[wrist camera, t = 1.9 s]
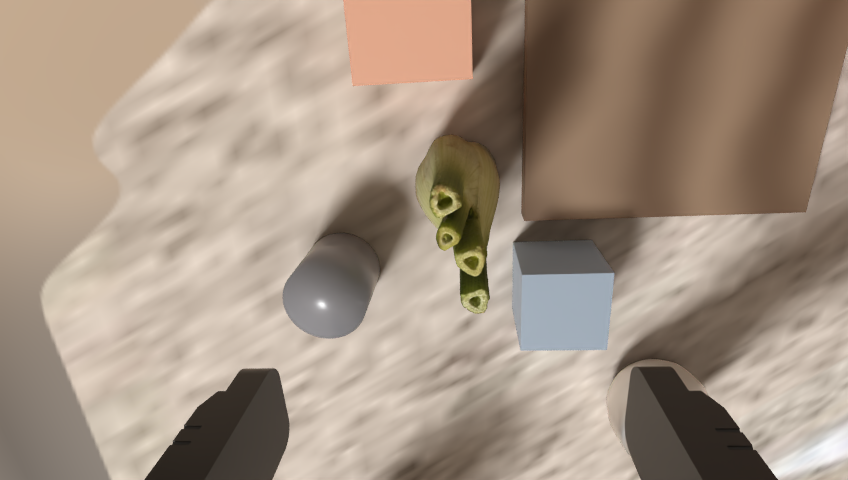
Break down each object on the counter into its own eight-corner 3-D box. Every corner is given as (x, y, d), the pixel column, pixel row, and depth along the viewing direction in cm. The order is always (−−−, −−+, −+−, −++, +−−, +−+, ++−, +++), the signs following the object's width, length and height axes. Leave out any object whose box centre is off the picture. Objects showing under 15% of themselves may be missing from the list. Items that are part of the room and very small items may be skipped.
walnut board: (846, -42, 24) (870, -48, 22) (789, 204, 29) (805, 212, 27) (525, -18, 25) (528, -22, 24) (521, 213, 30) (524, 220, 29)
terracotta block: (469, -3, 26) (470, -13, 22) (470, 74, 27) (472, 79, 23) (361, 5, 26) (343, -4, 22) (369, 80, 28) (352, 85, 24)
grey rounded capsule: (376, 231, 31) (361, 262, 27) (383, 298, 33) (370, 338, 29) (303, 233, 32) (276, 264, 27) (313, 299, 34) (290, 338, 29)
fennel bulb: (486, 226, 31) (500, 326, 20) (411, 213, 31) (383, 305, 20) (506, 137, 28) (534, 192, 17) (425, 123, 28) (402, 170, 17)
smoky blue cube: (591, 239, 30) (614, 272, 26) (586, 307, 32) (607, 349, 28) (512, 241, 31) (522, 274, 26) (512, 308, 33) (520, 350, 28)
